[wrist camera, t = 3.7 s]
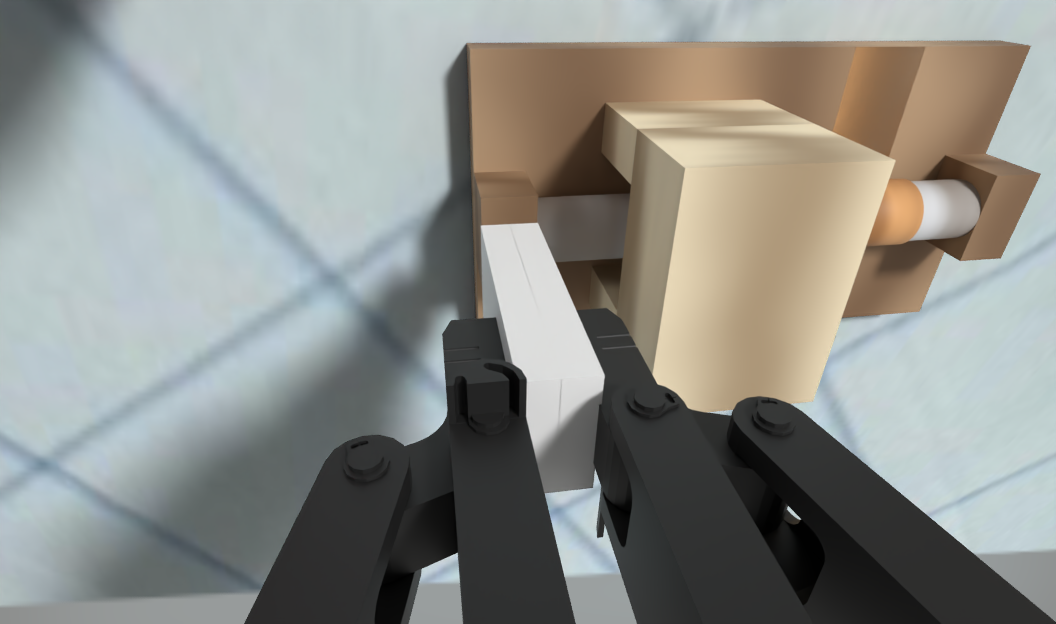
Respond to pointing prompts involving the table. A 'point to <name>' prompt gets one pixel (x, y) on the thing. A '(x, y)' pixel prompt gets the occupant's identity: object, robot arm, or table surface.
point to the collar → (736, 244)
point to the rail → (781, 80)
